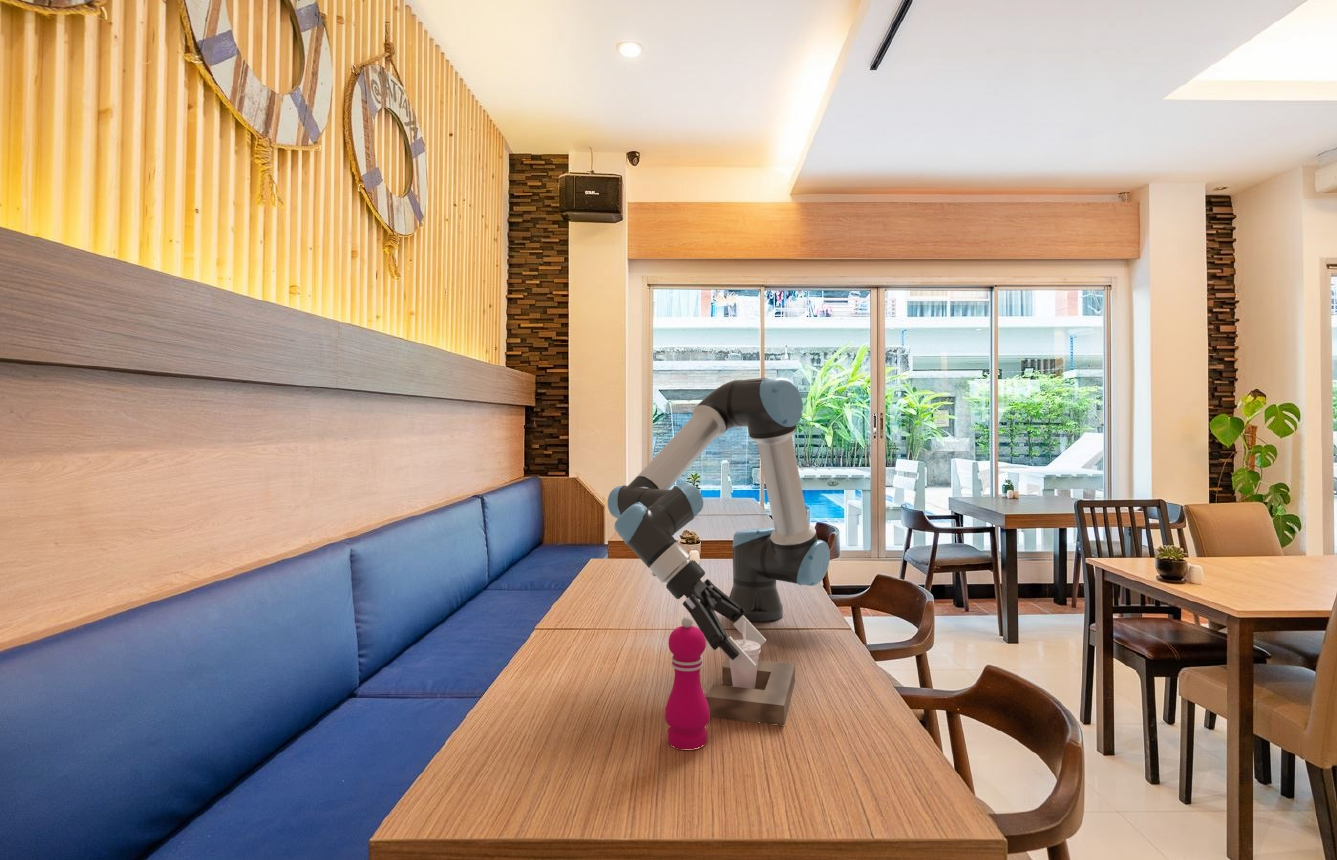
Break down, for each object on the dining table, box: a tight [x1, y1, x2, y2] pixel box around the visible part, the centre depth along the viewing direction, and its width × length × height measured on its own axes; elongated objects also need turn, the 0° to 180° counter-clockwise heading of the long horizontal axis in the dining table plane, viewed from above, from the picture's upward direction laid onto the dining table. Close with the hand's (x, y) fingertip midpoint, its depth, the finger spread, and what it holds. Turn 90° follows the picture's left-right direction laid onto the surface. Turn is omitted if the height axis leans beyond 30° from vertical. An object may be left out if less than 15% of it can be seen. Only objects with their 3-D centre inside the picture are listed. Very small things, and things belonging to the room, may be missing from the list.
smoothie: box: [729, 621, 762, 689], centre depth 120 cm, size 6×6×14 cm
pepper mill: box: [664, 616, 711, 750], centre depth 102 cm, size 7×7×20 cm
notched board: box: [705, 657, 796, 726], centre depth 119 cm, size 14×20×4 cm
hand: (756, 657), depth 119 cm, fingers open, 13 cm apart
